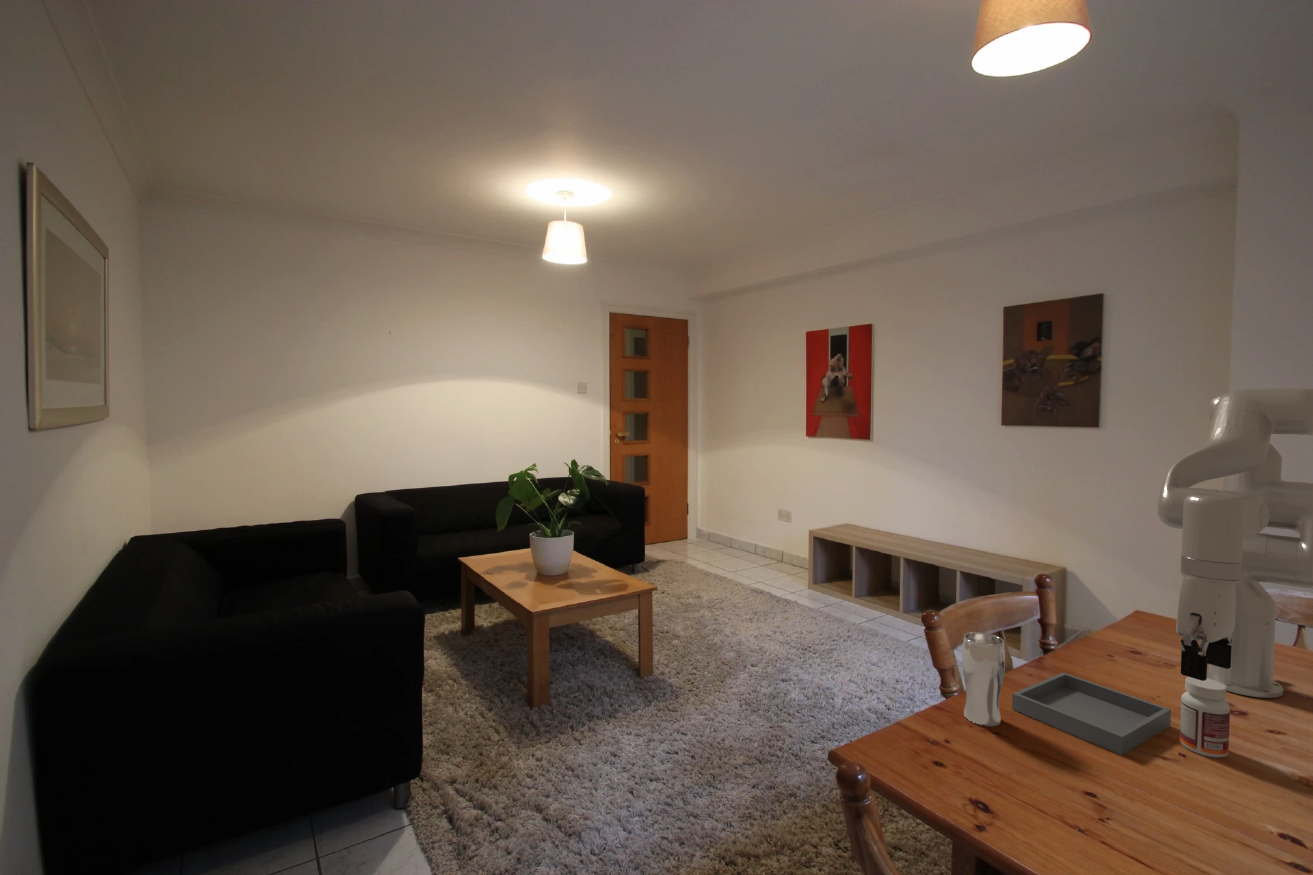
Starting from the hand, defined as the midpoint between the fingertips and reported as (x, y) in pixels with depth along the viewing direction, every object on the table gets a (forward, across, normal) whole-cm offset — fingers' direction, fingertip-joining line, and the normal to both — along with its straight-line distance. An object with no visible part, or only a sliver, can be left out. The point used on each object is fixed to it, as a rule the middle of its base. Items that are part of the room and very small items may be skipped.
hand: (1205, 671), depth 103 cm
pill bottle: (+14, -1, 0) cm, 14 cm away
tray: (+13, +4, -15) cm, 21 cm away
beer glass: (+14, +21, -25) cm, 36 cm away
